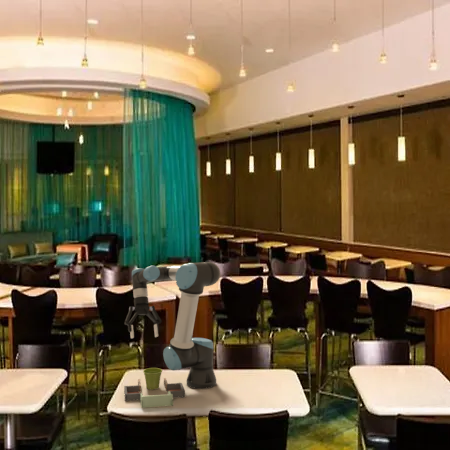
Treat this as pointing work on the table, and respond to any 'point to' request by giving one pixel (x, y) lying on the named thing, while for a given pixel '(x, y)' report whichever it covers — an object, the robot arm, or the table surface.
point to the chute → (164, 384)
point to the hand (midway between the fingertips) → (144, 337)
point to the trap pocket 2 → (176, 390)
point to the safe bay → (156, 400)
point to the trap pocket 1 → (131, 393)
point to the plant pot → (152, 377)
